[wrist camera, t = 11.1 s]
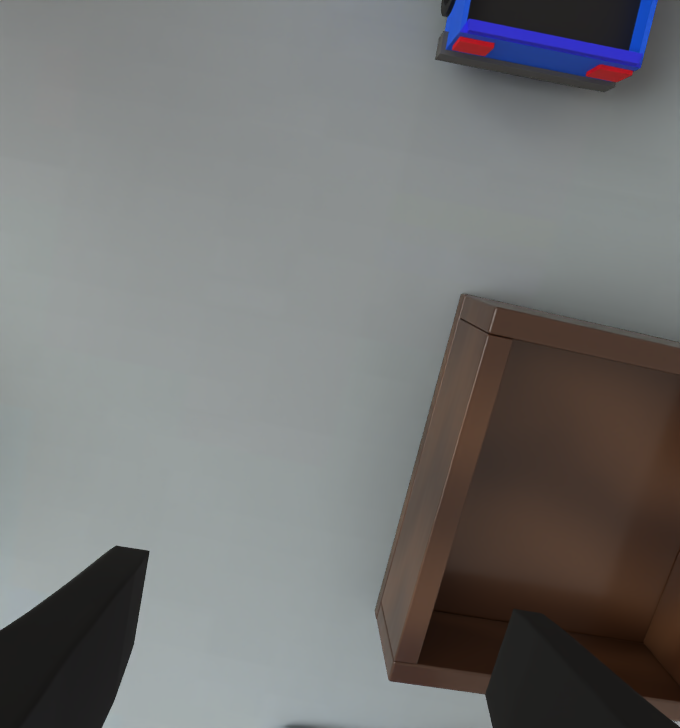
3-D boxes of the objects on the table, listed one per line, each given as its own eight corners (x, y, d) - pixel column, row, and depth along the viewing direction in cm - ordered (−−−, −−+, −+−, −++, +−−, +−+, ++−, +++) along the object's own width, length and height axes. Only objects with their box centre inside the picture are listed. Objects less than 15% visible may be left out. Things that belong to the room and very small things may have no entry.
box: (646, 652, 23) (706, 726, 19) (374, 611, 22) (387, 682, 18) (763, 361, 20) (856, 387, 17) (460, 292, 19) (495, 306, 15)
